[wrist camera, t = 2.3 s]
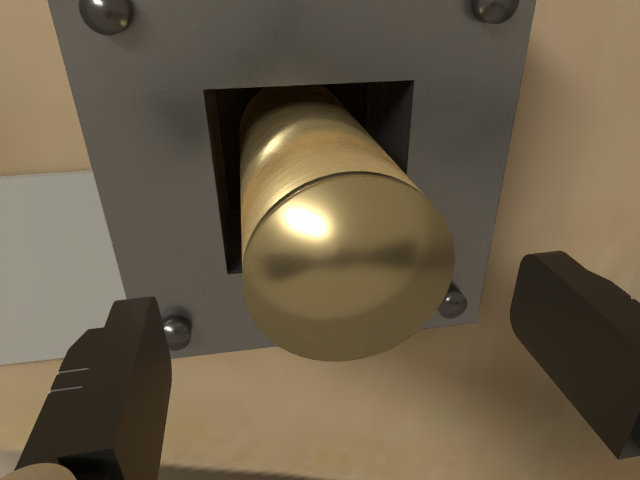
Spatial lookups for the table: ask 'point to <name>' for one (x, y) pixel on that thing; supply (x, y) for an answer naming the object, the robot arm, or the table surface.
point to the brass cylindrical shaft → (333, 231)
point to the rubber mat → (53, 264)
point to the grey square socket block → (282, 70)
